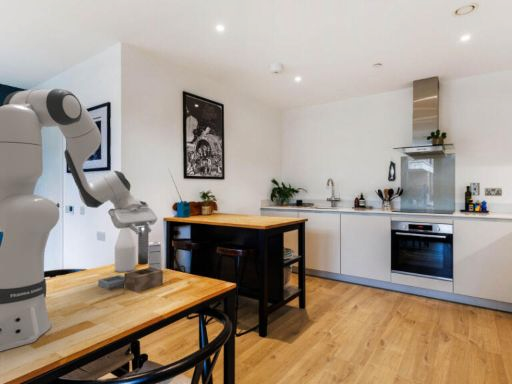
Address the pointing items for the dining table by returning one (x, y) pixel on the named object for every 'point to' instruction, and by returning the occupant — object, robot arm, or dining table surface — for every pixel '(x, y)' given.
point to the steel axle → (143, 246)
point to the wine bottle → (125, 251)
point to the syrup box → (154, 255)
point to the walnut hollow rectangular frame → (143, 279)
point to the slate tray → (111, 282)
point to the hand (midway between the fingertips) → (144, 232)
